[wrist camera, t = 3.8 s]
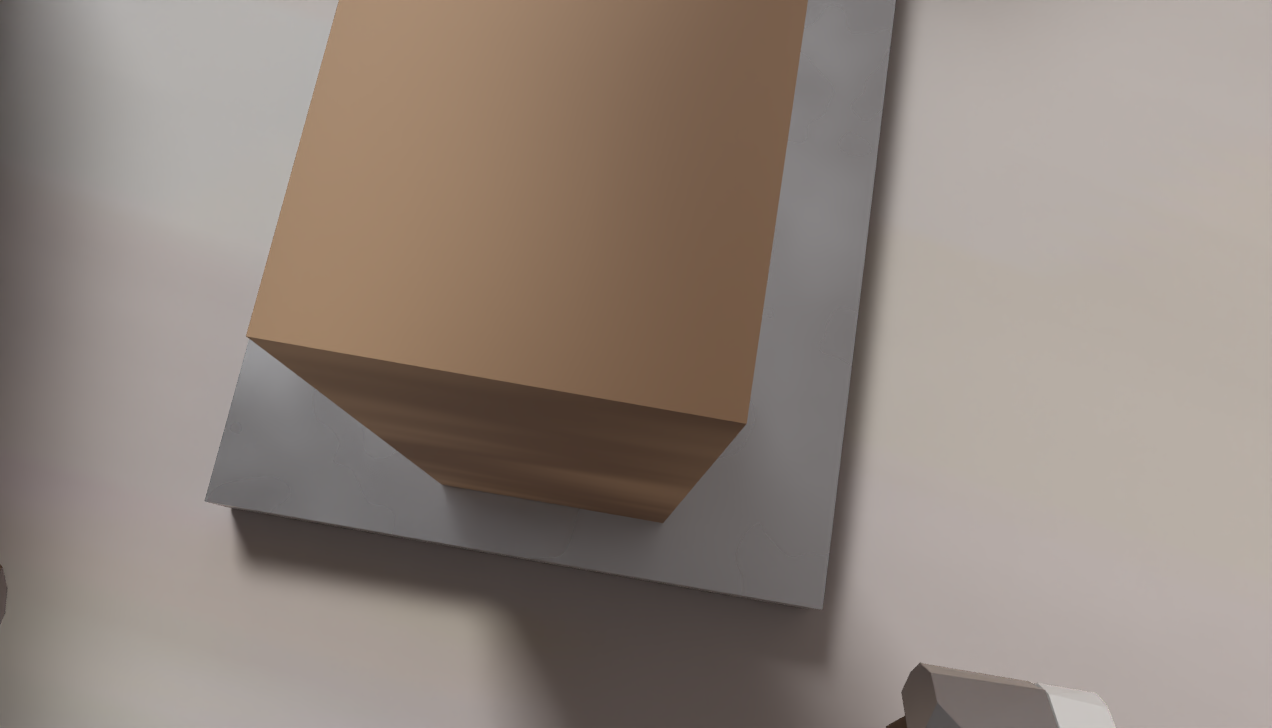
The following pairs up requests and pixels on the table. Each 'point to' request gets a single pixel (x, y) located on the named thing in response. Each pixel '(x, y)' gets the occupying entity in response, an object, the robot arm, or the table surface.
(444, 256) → the leg
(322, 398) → the strip
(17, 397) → the table surface
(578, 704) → the table surface
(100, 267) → the table surface
